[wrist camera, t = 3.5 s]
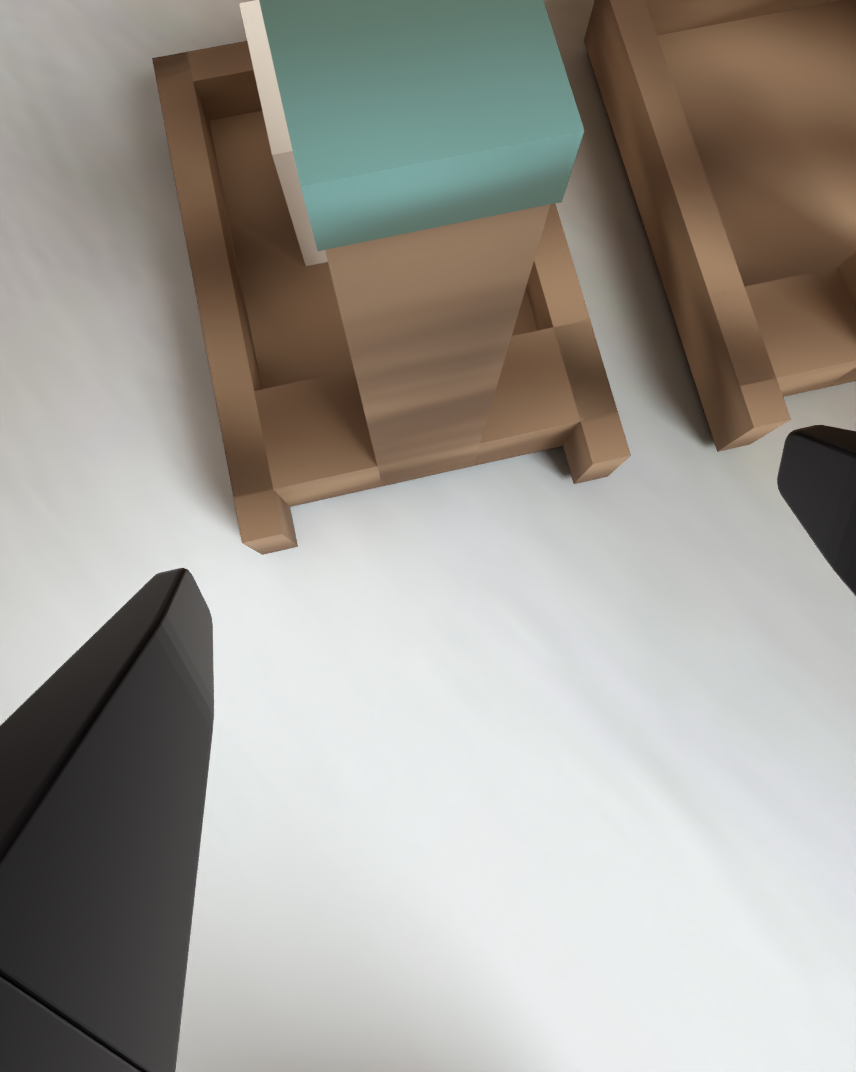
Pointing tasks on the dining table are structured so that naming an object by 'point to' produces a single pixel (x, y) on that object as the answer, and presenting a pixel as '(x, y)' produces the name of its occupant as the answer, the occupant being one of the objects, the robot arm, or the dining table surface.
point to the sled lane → (387, 251)
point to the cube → (278, 130)
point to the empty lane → (742, 187)
